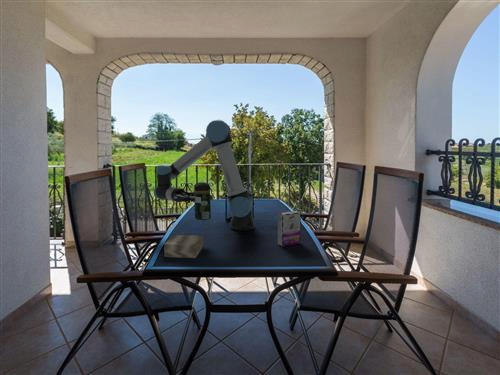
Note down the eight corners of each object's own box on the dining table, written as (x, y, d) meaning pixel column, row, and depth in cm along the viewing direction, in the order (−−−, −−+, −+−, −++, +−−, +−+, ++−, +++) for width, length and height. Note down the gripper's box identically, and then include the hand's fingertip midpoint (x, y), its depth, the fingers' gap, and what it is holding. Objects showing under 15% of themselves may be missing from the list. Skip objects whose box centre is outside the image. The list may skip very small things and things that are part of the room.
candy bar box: (294, 241, 161) (295, 210, 158) (300, 243, 156) (301, 212, 154) (276, 244, 156) (277, 212, 153) (282, 247, 151) (282, 214, 149)
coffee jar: (193, 217, 161) (192, 181, 158) (208, 216, 163) (208, 181, 160) (196, 221, 151) (195, 184, 149) (212, 220, 154) (211, 183, 151)
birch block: (202, 247, 150) (202, 235, 149) (195, 258, 136) (194, 244, 135) (174, 246, 151) (174, 234, 150) (164, 256, 137) (164, 243, 136)
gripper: (190, 198, 176) (220, 203, 163) (160, 204, 159) (191, 209, 146) (190, 185, 175) (220, 189, 162) (160, 190, 158) (191, 194, 145)
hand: (206, 198), depth 154 cm, fingers closed on coffee jar, 8 cm apart
